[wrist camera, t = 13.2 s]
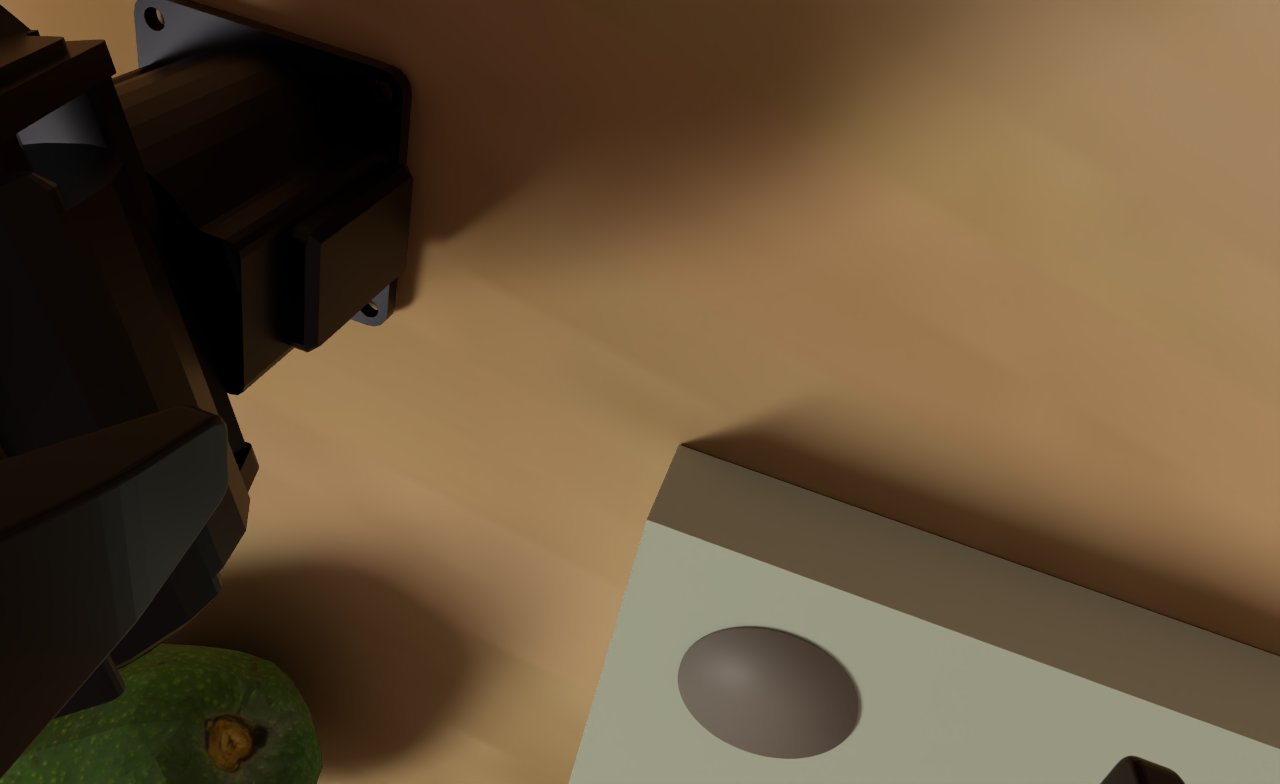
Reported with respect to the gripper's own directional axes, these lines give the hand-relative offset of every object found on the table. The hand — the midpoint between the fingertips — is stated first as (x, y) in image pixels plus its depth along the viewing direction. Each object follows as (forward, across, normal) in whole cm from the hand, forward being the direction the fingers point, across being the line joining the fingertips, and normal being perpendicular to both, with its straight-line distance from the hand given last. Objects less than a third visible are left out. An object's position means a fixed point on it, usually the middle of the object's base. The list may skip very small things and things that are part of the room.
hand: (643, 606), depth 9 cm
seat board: (+13, -9, +18) cm, 24 cm away
